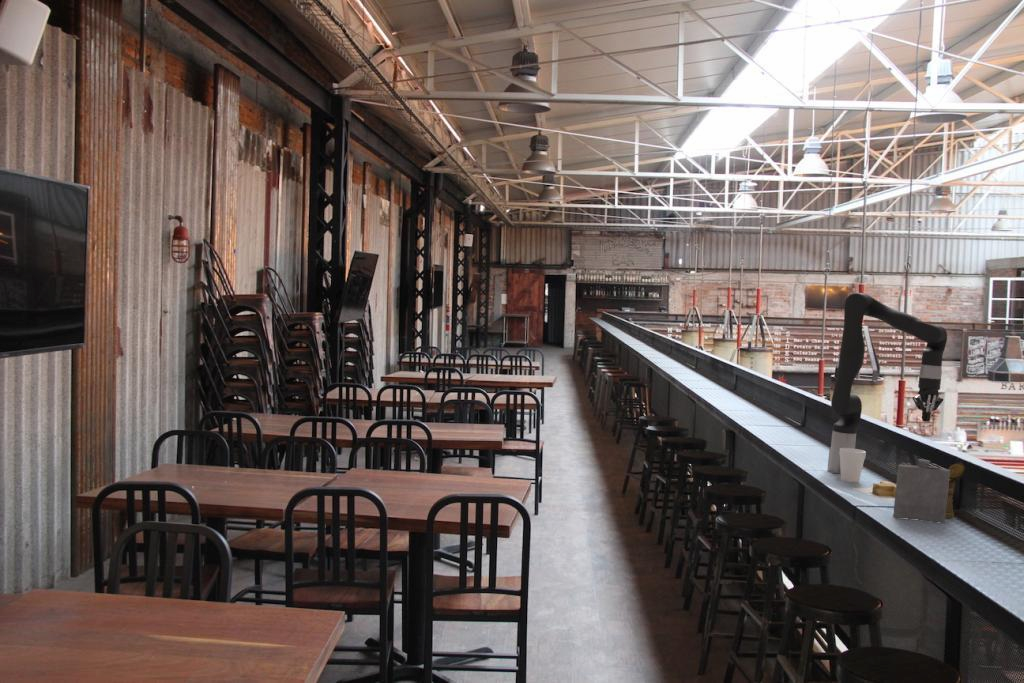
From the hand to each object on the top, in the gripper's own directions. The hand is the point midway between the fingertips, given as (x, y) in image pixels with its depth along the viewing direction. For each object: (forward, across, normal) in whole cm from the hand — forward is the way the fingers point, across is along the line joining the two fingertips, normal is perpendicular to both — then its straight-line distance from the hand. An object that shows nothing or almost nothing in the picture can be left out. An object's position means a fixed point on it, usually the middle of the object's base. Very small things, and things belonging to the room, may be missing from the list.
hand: (925, 421), depth 308 cm
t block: (+26, +24, +10) cm, 37 cm away
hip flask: (+27, +35, +38) cm, 58 cm away
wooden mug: (+27, +20, +33) cm, 47 cm away
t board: (+27, +23, +10) cm, 37 cm away
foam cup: (+27, +23, -11) cm, 37 cm away
